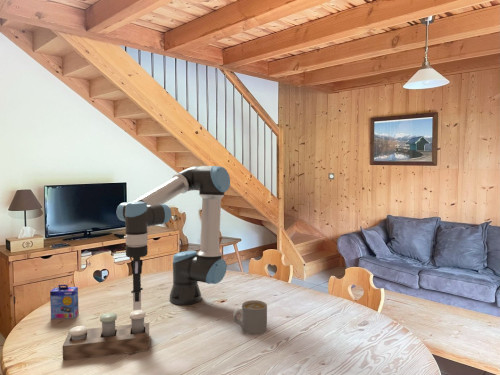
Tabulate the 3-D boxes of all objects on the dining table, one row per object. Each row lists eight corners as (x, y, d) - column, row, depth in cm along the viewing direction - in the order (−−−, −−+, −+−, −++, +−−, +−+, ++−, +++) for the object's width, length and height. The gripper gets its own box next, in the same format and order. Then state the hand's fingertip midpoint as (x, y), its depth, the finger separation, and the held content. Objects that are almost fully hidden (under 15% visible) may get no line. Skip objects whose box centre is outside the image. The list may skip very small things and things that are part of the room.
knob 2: (145, 327, 142) (145, 309, 141) (145, 334, 136) (145, 315, 136) (130, 329, 140) (129, 310, 140) (129, 336, 135) (129, 316, 134)
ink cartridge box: (50, 319, 159) (48, 285, 158) (55, 314, 165) (54, 281, 164) (74, 318, 160) (73, 285, 159) (79, 313, 166) (78, 281, 165)
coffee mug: (267, 324, 156) (268, 300, 155) (265, 335, 146) (265, 310, 145) (235, 322, 158) (235, 299, 157) (231, 333, 148) (231, 308, 147)
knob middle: (117, 330, 139) (117, 312, 139) (116, 337, 134) (116, 318, 133) (101, 332, 138) (101, 313, 137) (99, 339, 132) (99, 319, 132)
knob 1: (88, 343, 137) (88, 325, 136) (86, 351, 131) (85, 331, 131) (71, 345, 135) (71, 326, 135) (68, 353, 130) (68, 333, 130)
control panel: (149, 335, 145) (149, 322, 145) (149, 350, 134) (149, 336, 134) (70, 343, 138) (69, 330, 138) (62, 360, 127) (62, 346, 126)
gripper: (126, 241, 141) (127, 303, 143) (124, 249, 129) (125, 317, 130) (147, 240, 143) (147, 301, 145) (147, 248, 131) (147, 315, 132)
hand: (137, 309), depth 138 cm, fingers closed
